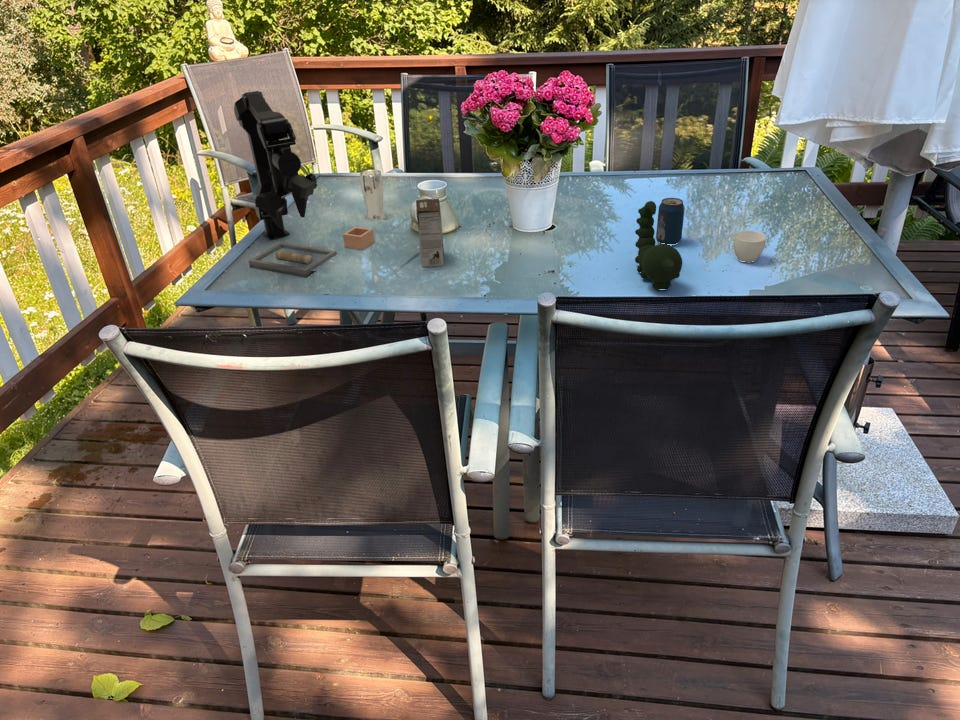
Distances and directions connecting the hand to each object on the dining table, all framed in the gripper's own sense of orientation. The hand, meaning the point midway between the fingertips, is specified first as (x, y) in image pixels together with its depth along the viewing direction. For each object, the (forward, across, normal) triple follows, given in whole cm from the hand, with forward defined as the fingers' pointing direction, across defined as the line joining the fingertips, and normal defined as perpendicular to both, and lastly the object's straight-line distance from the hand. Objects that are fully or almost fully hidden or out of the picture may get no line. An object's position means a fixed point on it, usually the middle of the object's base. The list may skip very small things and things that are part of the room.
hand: (292, 222), depth 192 cm
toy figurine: (+12, +24, -94) cm, 98 cm away
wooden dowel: (+12, 0, +6) cm, 13 cm away
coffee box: (+12, +15, -35) cm, 40 cm away
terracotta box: (+12, +15, -10) cm, 22 cm away
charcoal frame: (+12, 0, +2) cm, 12 cm away
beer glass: (+12, +37, -1) cm, 39 cm away
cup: (+12, +44, -114) cm, 123 cm away
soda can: (+12, +48, -92) cm, 105 cm away
